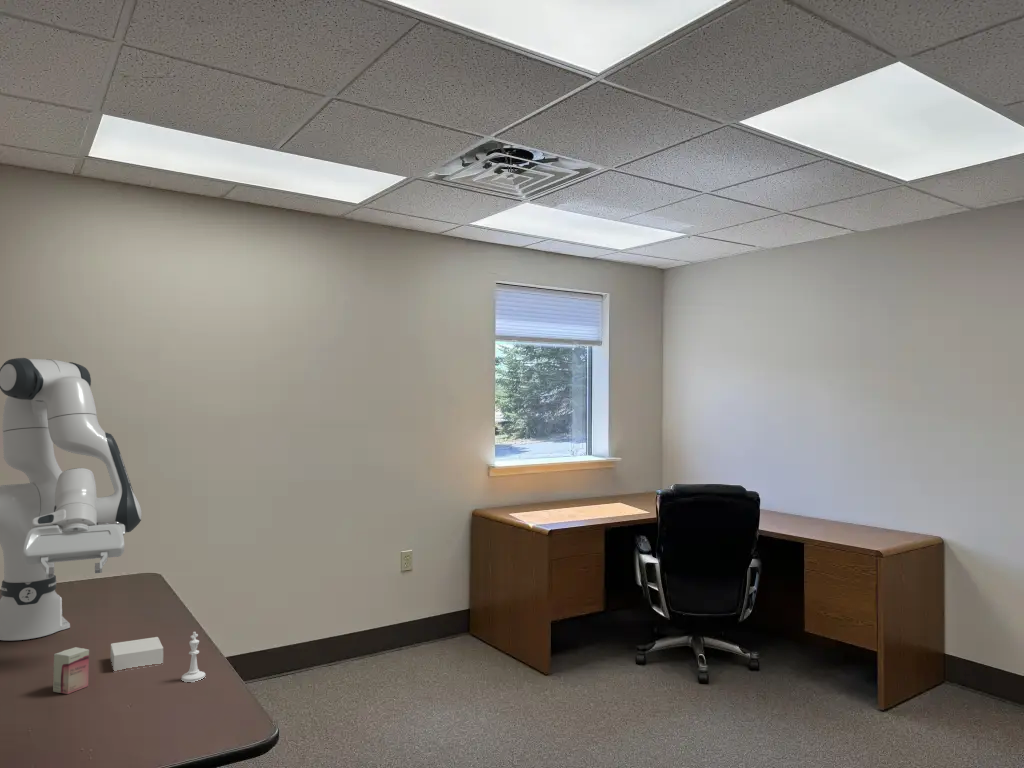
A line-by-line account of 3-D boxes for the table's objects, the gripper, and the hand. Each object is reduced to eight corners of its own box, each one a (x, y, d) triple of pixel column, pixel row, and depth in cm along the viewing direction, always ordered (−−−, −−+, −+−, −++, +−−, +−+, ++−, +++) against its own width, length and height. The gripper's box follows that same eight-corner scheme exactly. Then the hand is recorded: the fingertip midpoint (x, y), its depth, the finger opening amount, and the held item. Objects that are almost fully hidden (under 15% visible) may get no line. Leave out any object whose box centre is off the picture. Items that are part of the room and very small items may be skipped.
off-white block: (110, 660, 173) (110, 643, 173) (157, 653, 178) (157, 636, 178) (113, 673, 164) (114, 655, 164) (162, 665, 169) (163, 648, 170)
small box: (67, 695, 151) (68, 656, 151) (52, 692, 153) (53, 653, 153) (89, 686, 156) (90, 648, 156) (74, 683, 157) (75, 646, 158)
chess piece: (210, 676, 162) (211, 630, 162) (194, 683, 158) (195, 636, 158) (192, 673, 164) (193, 627, 164) (175, 681, 159) (176, 634, 159)
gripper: (124, 528, 181) (125, 576, 173) (25, 536, 171) (21, 587, 162) (125, 512, 178) (127, 560, 169) (24, 519, 167) (20, 570, 159)
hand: (74, 574), depth 166 cm, fingers open, 8 cm apart
